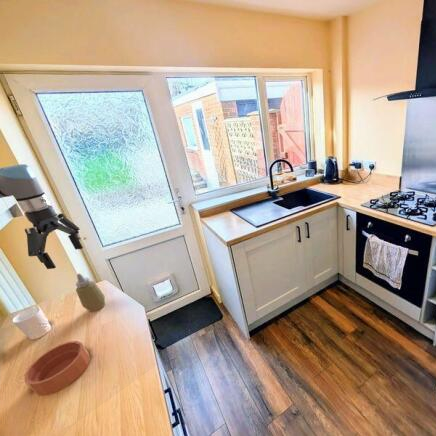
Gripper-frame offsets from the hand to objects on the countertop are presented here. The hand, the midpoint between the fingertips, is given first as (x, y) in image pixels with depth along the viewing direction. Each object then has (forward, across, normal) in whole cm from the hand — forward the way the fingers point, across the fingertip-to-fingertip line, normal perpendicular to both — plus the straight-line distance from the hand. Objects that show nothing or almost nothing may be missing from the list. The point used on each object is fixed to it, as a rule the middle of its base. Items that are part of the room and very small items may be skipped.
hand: (66, 257), depth 97 cm
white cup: (+27, -11, +15) cm, 33 cm away
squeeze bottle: (+27, +1, 0) cm, 27 cm away
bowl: (+27, -30, -10) cm, 41 cm away
